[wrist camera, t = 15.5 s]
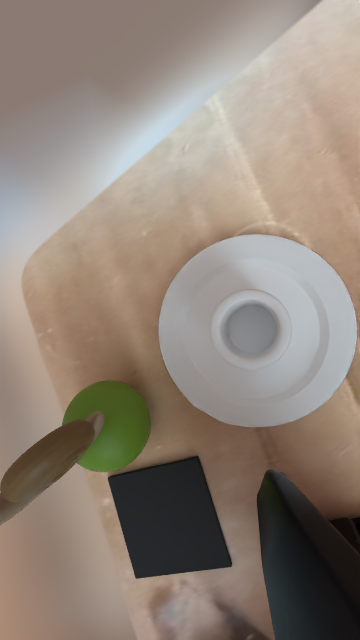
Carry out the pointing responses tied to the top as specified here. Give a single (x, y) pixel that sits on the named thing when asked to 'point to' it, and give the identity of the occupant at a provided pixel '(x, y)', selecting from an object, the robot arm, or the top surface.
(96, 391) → the snail figurine
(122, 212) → the top surface
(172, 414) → the top surface
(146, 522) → the coaster
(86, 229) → the top surface
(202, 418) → the top surface
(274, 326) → the candle holder
